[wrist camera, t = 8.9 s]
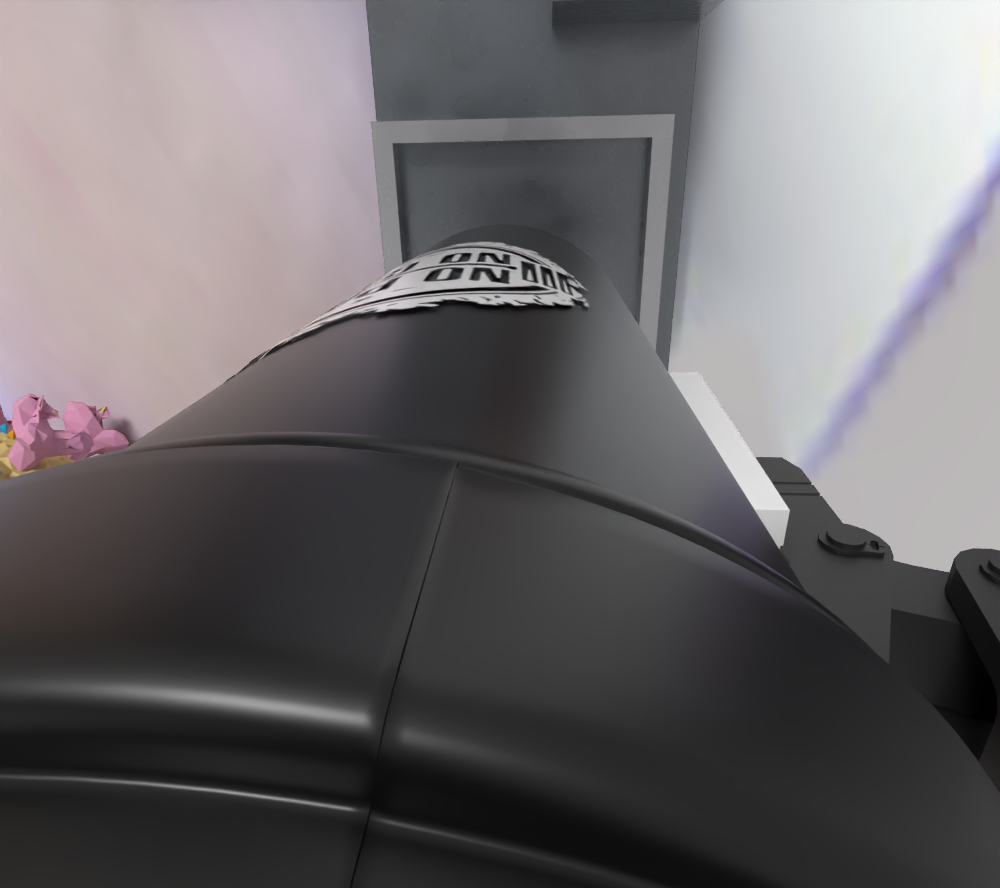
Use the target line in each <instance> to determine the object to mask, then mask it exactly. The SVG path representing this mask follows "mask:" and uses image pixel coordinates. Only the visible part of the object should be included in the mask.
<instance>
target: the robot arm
mask: <svg viewBox="0 0 1000 888" xmlns="http://www.w3.org/2000/svg"><path fill="white" fill-rule="evenodd" d="M668 373H669V374H670V376H671V377H672V379H673V381H674V382H675V384H676V385H677V387H678V388H679V390H680V392H681V393H682V395H683V396H684V398H685V400H686V401H687V403H688V404H689V406H690V408H691V409H692V411H693V412H694V414H695V416H696V417H697V419H698V420H699V422H700V424H701V425H702V427H703V428H704V430H705V431H706V433H707V435H708V436H709V438H710V439H711V441H712V443H713V444H714V446H715V447H716V449H717V451H718V452H719V454H720V455H721V457H722V459H723V460H724V462H725V463H726V465H727V467H728V468H729V470H730V471H731V473H732V475H733V476H734V478H735V479H736V481H737V482H738V484H739V486H740V487H741V489H742V490H743V492H744V494H745V495H746V497H747V498H748V500H749V502H750V503H751V505H752V506H753V508H754V510H755V511H756V513H757V514H758V516H759V518H760V519H761V521H762V522H763V524H764V525H765V527H766V529H767V530H768V532H769V533H770V535H771V537H772V538H773V540H774V541H775V543H776V545H777V546H778V548H779V549H780V551H781V553H782V554H783V556H784V557H785V559H786V561H787V562H788V564H789V565H790V567H791V569H792V570H793V572H794V573H795V575H796V576H797V578H798V580H799V581H800V583H801V584H802V586H803V588H804V589H805V591H806V592H807V593H808V594H810V595H811V596H812V597H814V598H815V599H816V600H817V601H819V602H820V603H821V604H822V605H823V606H825V607H826V608H827V609H828V610H830V611H831V612H832V613H833V614H835V615H836V616H837V617H838V618H840V619H841V620H842V621H843V622H844V623H845V624H846V625H847V626H848V627H849V628H851V629H852V630H853V631H854V632H855V633H856V634H857V635H858V636H859V637H860V638H862V639H863V640H864V641H865V642H866V643H867V644H868V645H869V646H870V647H871V649H872V650H873V651H874V652H875V653H876V654H877V655H879V656H880V657H881V658H883V659H884V660H885V661H886V662H887V663H888V664H889V665H891V666H892V667H893V668H894V669H895V670H896V671H897V672H898V673H900V674H901V675H902V676H903V677H904V678H905V679H906V680H907V681H909V682H910V683H911V684H912V685H913V686H914V687H915V688H916V689H917V690H918V691H919V692H920V693H921V694H922V695H923V696H924V697H925V698H926V699H927V700H928V701H929V702H930V703H931V704H932V705H933V706H934V707H935V708H936V710H937V711H938V712H939V713H940V714H941V715H942V716H943V718H944V719H945V720H946V721H947V722H948V723H949V724H950V726H951V727H952V728H953V729H954V730H955V731H956V733H957V734H958V735H959V736H960V738H961V739H962V740H963V742H964V743H965V744H966V746H967V747H968V748H969V750H970V751H971V752H972V753H973V755H974V756H975V758H976V759H977V760H978V762H979V763H980V765H981V766H982V768H983V769H984V771H985V772H986V773H987V775H988V776H989V778H990V779H991V781H992V782H993V784H994V785H995V786H996V788H997V789H998V791H999V792H1000V551H999V550H994V549H969V550H965V551H961V552H960V553H959V554H958V555H957V556H956V557H955V558H954V561H953V564H952V567H951V570H950V573H949V572H944V571H939V570H933V569H928V568H923V567H918V566H912V565H909V564H904V563H900V562H897V561H894V560H893V554H892V551H891V548H890V546H889V545H888V544H887V543H886V542H884V541H883V540H882V539H881V538H880V537H878V536H876V535H874V534H873V533H871V532H869V531H867V530H865V529H861V528H858V527H855V526H852V525H848V524H843V523H842V522H841V520H840V519H839V518H838V517H837V515H836V514H835V513H834V511H833V510H832V509H831V508H830V506H829V505H828V504H827V502H826V501H825V500H824V498H823V497H822V496H820V493H819V492H818V491H817V489H816V488H815V487H814V485H811V482H810V480H809V479H808V478H807V476H806V475H805V474H804V472H803V471H802V470H801V469H800V468H798V467H796V466H795V465H793V464H791V463H790V462H788V461H787V460H785V459H783V458H776V457H766V458H765V457H755V456H754V455H753V453H752V452H751V450H750V449H749V447H748V445H747V444H746V443H745V441H744V439H743V438H742V437H741V435H740V433H739V432H738V430H737V429H736V427H735V426H734V424H733V423H732V421H731V420H730V418H729V417H728V415H727V413H726V412H725V410H724V409H723V407H722V406H721V404H720V403H719V401H718V400H717V398H716V397H715V395H714V394H713V392H712V390H711V389H710V387H709V386H708V384H707V383H706V382H705V380H704V378H703V377H702V375H701V374H700V372H668Z"/></svg>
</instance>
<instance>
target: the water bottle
mask: <svg viewBox="0 0 1000 888" xmlns="http://www.w3.org/2000/svg"><path fill="white" fill-rule="evenodd" d="M407 262H408V263H407ZM407 262H405V263H406V264H405V263H404V264H401V265H400V266H398V268H397V267H396V269H393V270H392V271H390V272H389V273H387V274H385V275H386V276H385V275H384V277H383V276H382V277H383V278H382V277H381V279H380V278H379V279H378V280H376V281H374V282H373V284H372V283H371V284H370V285H368V286H367V287H368V288H367V287H365V288H364V289H362V290H361V291H359V292H357V293H356V294H354V295H353V296H351V297H352V298H351V297H350V298H351V299H350V298H348V299H349V300H348V299H346V300H345V301H346V302H345V301H343V302H342V303H343V304H342V303H340V304H341V305H340V304H339V305H340V306H339V305H338V307H337V306H336V307H337V308H336V307H334V308H335V309H333V308H332V309H331V310H329V311H328V312H326V313H325V314H323V315H321V316H320V317H318V318H317V319H315V320H314V321H312V322H310V323H309V324H307V325H306V326H304V327H305V328H304V327H303V329H302V328H301V329H300V330H298V331H296V332H295V333H293V334H292V335H290V336H289V337H287V338H286V339H284V340H282V341H281V342H279V343H278V344H276V345H275V346H273V347H274V348H273V347H271V348H273V349H272V350H270V349H271V348H270V349H268V350H267V351H269V350H270V351H269V352H268V353H267V354H266V355H265V356H264V357H263V358H262V359H260V358H261V357H262V356H263V355H264V354H265V353H266V352H267V351H265V352H264V353H262V354H261V355H262V356H261V355H259V356H258V357H256V358H255V359H253V360H252V361H251V362H249V364H248V365H247V366H245V367H244V368H243V369H242V370H241V371H240V372H239V373H238V374H237V375H234V376H232V377H231V378H230V379H228V380H227V381H226V382H225V383H224V384H223V385H221V386H219V387H218V388H216V389H215V390H213V391H212V392H210V393H209V394H207V395H206V396H204V397H203V398H201V399H200V400H198V401H197V402H195V403H194V404H192V405H191V406H189V407H188V408H186V409H185V410H183V411H182V412H180V413H179V414H177V415H175V416H174V417H172V418H171V419H169V420H168V421H166V422H165V423H163V424H162V425H160V426H159V427H157V428H156V429H154V430H153V431H151V432H150V433H148V434H147V435H145V436H144V437H142V438H141V439H139V440H138V441H136V442H134V443H133V444H131V445H130V446H128V447H127V448H125V449H123V450H118V451H113V452H109V453H105V454H101V455H97V456H94V457H90V458H87V459H83V460H80V461H76V462H73V463H68V464H64V465H59V466H55V467H50V468H46V469H41V470H37V471H34V472H30V473H26V474H23V475H19V476H16V477H12V478H9V479H5V480H2V481H0V888H1000V792H999V791H998V789H997V788H996V786H995V785H994V784H993V782H992V781H991V779H990V778H989V776H988V775H987V773H986V772H985V771H984V769H983V768H982V766H981V765H980V763H979V762H978V760H977V759H976V758H975V756H974V755H973V753H972V752H971V751H970V750H969V748H968V747H967V746H966V744H965V743H964V742H963V740H962V739H961V738H960V736H959V735H958V734H957V733H956V731H955V730H954V729H953V728H952V727H951V726H950V724H949V723H948V722H947V721H946V720H945V719H944V718H943V716H942V715H941V714H940V713H939V712H938V711H937V710H936V708H935V707H934V706H933V705H932V704H931V703H930V702H929V701H928V700H927V699H926V698H925V697H924V696H923V695H922V694H921V693H920V692H919V691H918V690H917V689H916V688H915V687H914V686H913V685H912V684H911V683H910V682H909V681H907V680H906V679H905V678H904V677H903V676H902V675H901V674H900V673H898V672H897V671H896V670H895V669H894V668H893V667H892V666H891V665H889V664H888V663H887V662H886V661H885V660H884V659H883V658H881V657H880V656H879V655H877V654H876V653H875V652H874V651H873V650H872V649H871V647H870V646H869V645H868V644H867V643H866V642H865V641H864V640H863V639H862V638H860V637H859V636H858V635H857V634H856V633H855V632H854V631H853V630H852V629H851V628H849V627H848V626H847V625H846V624H845V623H844V622H843V621H842V620H841V619H840V618H838V617H837V616H836V615H835V614H833V613H832V612H831V611H830V610H828V609H827V608H826V607H825V606H823V605H822V604H821V603H820V602H819V601H817V600H816V599H815V598H814V597H812V596H811V595H810V594H808V593H807V592H806V591H805V589H804V588H803V586H802V584H801V583H800V581H799V580H798V578H797V576H796V575H795V573H794V572H793V570H792V569H791V567H790V565H789V564H788V562H787V561H786V559H785V557H784V556H783V554H782V553H781V551H780V549H779V548H778V546H777V545H776V543H775V541H774V540H773V538H772V537H771V535H770V533H769V532H768V530H767V529H766V527H765V525H764V524H763V522H762V521H761V519H760V518H759V516H758V514H757V513H756V511H755V510H754V508H753V506H752V505H751V503H750V502H749V500H748V498H747V497H746V495H745V494H744V492H743V490H742V489H741V487H740V486H739V484H738V482H737V481H736V479H735V478H734V476H733V475H732V473H731V471H730V470H729V468H728V467H727V465H726V463H725V462H724V460H723V459H722V457H721V455H720V454H719V452H718V451H717V449H716V447H715V446H714V444H713V443H712V441H711V439H710V438H709V436H708V435H707V433H706V431H705V430H704V428H703V427H702V425H701V424H700V422H699V420H698V419H697V417H696V416H695V414H694V412H693V411H692V409H691V408H690V406H689V404H688V403H687V401H686V400H685V398H684V396H683V395H682V393H681V392H680V390H679V388H678V387H677V385H676V384H675V382H674V381H673V379H672V377H671V376H670V374H669V373H668V371H667V369H666V368H665V366H664V365H663V363H662V361H661V360H660V358H659V357H658V355H657V353H656V352H655V350H654V349H653V347H652V345H651V344H650V342H649V341H648V339H647V337H646V336H645V334H644V333H643V331H642V330H641V328H640V326H639V325H638V323H637V322H636V320H635V318H634V317H633V315H632V314H631V312H630V310H629V309H628V307H627V306H626V304H625V302H624V301H623V299H622V298H621V296H620V294H619V293H618V291H617V290H616V288H615V287H614V285H613V283H612V282H611V280H610V279H609V278H608V276H607V275H606V274H605V272H604V271H603V270H602V269H601V268H600V267H599V265H598V264H597V263H596V262H595V261H594V260H593V259H591V258H590V257H589V256H588V255H587V254H586V253H584V252H583V251H582V250H580V249H579V248H578V247H576V246H575V245H573V244H571V243H570V242H568V241H566V240H564V239H562V238H560V237H558V236H556V235H554V234H551V233H548V232H546V231H543V230H539V229H535V228H531V227H526V226H519V225H488V226H481V227H476V228H472V229H468V230H465V231H462V232H459V233H456V234H454V235H452V236H449V237H447V238H445V239H443V240H442V241H440V242H438V243H437V244H435V245H433V246H432V247H430V248H429V249H427V250H426V251H424V252H423V253H421V254H420V255H418V256H417V257H415V258H413V259H411V260H409V261H407ZM395 270H396V271H395ZM392 272H393V273H392ZM389 274H390V275H389ZM371 285H373V286H371ZM362 291H363V292H362ZM317 321H318V322H317ZM304 330H305V331H304ZM291 338H292V339H291ZM289 339H291V340H289ZM287 340H289V341H288V342H286V341H287ZM285 342H286V343H285ZM283 343H285V344H283ZM282 344H283V345H282ZM281 345H282V346H281ZM259 359H260V360H259ZM258 360H259V361H258Z"/></svg>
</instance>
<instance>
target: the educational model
mask: <svg viewBox="0 0 1000 888" xmlns="http://www.w3.org/2000/svg"><path fill="white" fill-rule="evenodd" d="M43 397H44V395H43V396H42V397H41V398H39V397H37V396H35V395H32V394H29V395H27V396H25V397H23V398H22V399H20V400H18V401H17V402H15V403H13V420H12V421H7V420H6V419H5V418H4V415H3V412H2V408H1V406H0V481H2V480H5V479H9V478H12V477H16V476H19V475H23V474H26V473H30V472H34V471H37V470H41V469H46V468H50V467H55V466H59V465H64V464H68V463H73V462H76V461H80V460H83V459H85V458H87V457H90V456H92V455H94V454H97V453H98V454H104V453H105V452H113V451H118V450H123V449H125V448H126V447H127V446H128V444H129V442H128V441H127V439H126V437H125V436H124V435H123V434H122V433H120V432H118V431H116V430H103V425H102V419H103V418H107V417H108V415H109V414H110V412H109V410H108V409H107V407H104V408H102V410H101V409H100V410H101V414H99V411H100V410H98V411H96V406H87V405H86V404H85V403H83V402H68V405H67V409H66V412H65V414H64V417H63V421H64V424H65V430H53V429H52V428H50V425H49V423H48V420H47V419H51V418H60V417H59V415H58V413H57V412H58V411H56V410H54V409H53V408H52V407H50V406H49V405H48V404H47V403H46V401H45V400H44V398H43ZM37 400H38V401H37ZM53 416H54V417H53Z"/></svg>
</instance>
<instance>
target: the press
mask: <svg viewBox="0 0 1000 888" xmlns="http://www.w3.org/2000/svg"><path fill="white" fill-rule="evenodd" d="M723 1H724V0H366V8H367V19H368V30H369V41H370V53H371V64H372V75H373V86H374V97H375V108H376V119H377V122H371V127H372V137H373V148H374V159H375V170H376V180H377V191H378V202H379V213H380V223H381V234H382V245H383V256H384V266H385V274H387V273H389V272H390V271H392V270H393V269H396V267H397V268H398V266H400V265H401V264H404V263H405V262H407V261H409V260H411V259H413V258H415V257H417V256H418V255H420V254H421V253H423V252H424V251H426V250H427V249H429V248H430V247H432V246H433V245H435V244H437V243H438V242H440V241H442V240H443V239H445V238H447V237H449V236H452V235H454V234H456V233H459V232H462V231H465V230H468V229H472V228H476V227H481V226H488V225H519V226H526V227H531V228H535V229H539V230H543V231H546V232H548V233H551V234H554V235H556V236H558V237H560V238H562V239H564V240H566V241H568V242H570V243H571V244H573V245H575V246H576V247H578V248H579V249H580V250H582V251H583V252H584V253H586V254H587V255H588V256H589V257H590V258H591V259H593V260H594V261H595V262H596V263H597V264H598V265H599V267H600V268H601V269H602V270H603V271H604V272H605V274H606V275H607V276H608V278H609V279H610V280H611V282H612V283H613V285H614V287H615V288H616V290H617V291H618V293H619V294H620V296H621V298H622V299H623V301H624V302H625V304H626V306H627V307H628V309H629V310H630V312H631V314H632V315H633V317H634V318H635V320H636V322H637V323H638V325H639V326H640V328H641V330H642V331H643V333H644V334H645V336H646V337H647V339H648V341H649V342H650V344H651V345H652V347H653V349H654V350H655V352H656V353H657V355H658V357H659V358H660V360H661V361H662V363H663V365H664V366H665V368H666V369H667V371H668V363H669V352H670V341H671V330H672V319H673V308H674V297H675V286H676V275H677V264H678V253H679V242H680V231H681V220H682V209H683V198H684V187H685V176H686V165H687V154H688V143H689V132H690V121H691V109H692V98H693V87H694V76H695V65H696V54H697V43H698V32H699V21H700V19H702V18H703V17H704V16H705V15H707V14H708V13H709V12H710V11H712V10H713V9H714V8H715V7H716V6H718V5H719V4H720V3H721V2H723ZM407 263H408V262H407ZM405 264H406V263H405ZM395 271H396V270H395ZM392 273H393V272H392ZM389 275H390V274H389ZM385 276H386V275H385Z"/></svg>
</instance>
